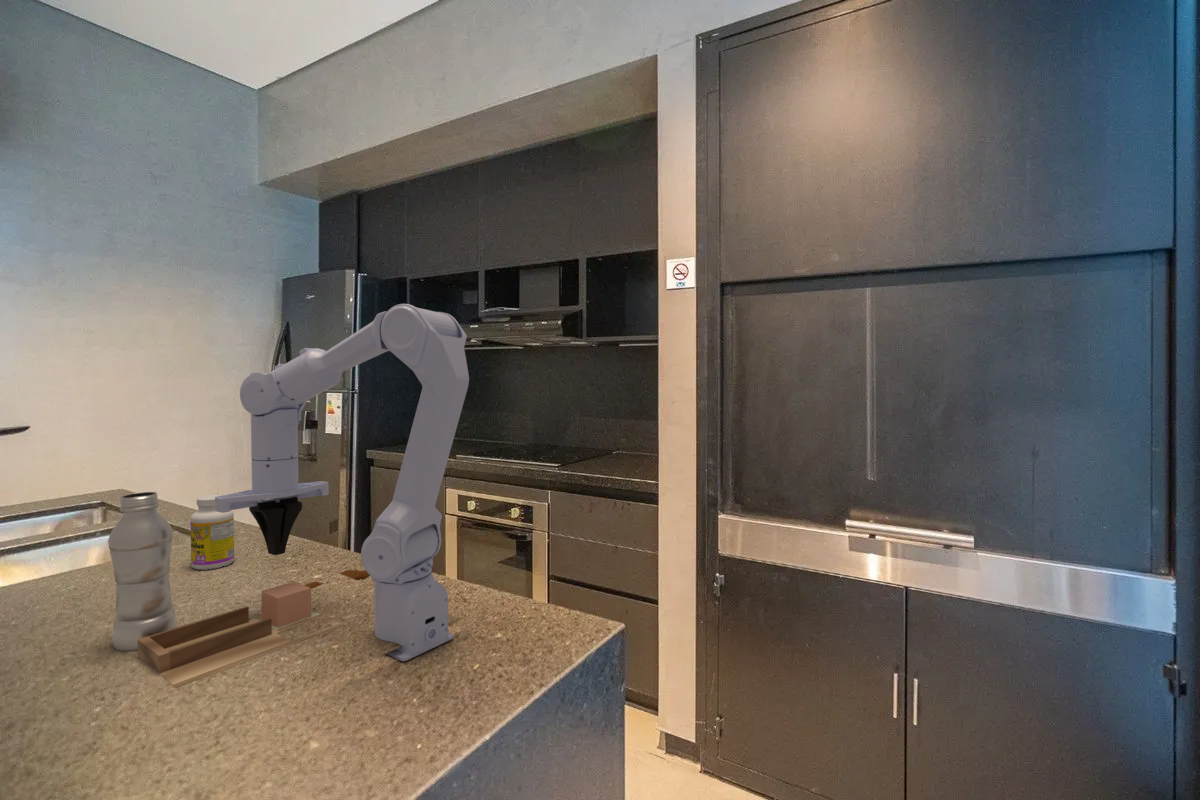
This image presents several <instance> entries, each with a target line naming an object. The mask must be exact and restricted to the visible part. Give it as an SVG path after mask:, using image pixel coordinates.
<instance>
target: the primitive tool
mask: <svg viewBox="0 0 1200 800" xmlns="http://www.w3.org/2000/svg"><path fill="white" fill-rule="evenodd" d="M338 574H339V575H341V576H344V577H347V578H350V579H352V580H356V581H359V580H360V579H361V580H363V579H364V578H365V579H366V578H369V576H370V575H369V574H368V573H367V571H366V570H365V569H364V570H358V569H348V570H344V571H342V572H339V573H338ZM370 577H371V576H370ZM303 585H304V586H307V587H309V588H311V590H312V589H315V588H317V587H319V586H322V585H324V582H323V581H322V582H320V581H313V582H309V583H306V584H303Z"/></svg>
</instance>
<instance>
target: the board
mask: <svg viewBox="0 0 1200 800" xmlns="http://www.w3.org/2000/svg"><path fill="white" fill-rule="evenodd" d="M314 620H320V621H321V622H324V623H325V624H328V625H330V626H328V627H325V628H322V629H320V630H318V631H315V632H312V633H310V634H306V635H304V636H301V637H298V638H296V639H293V640H290V639H288V638H286V637H284V636H283V635H281V634H278V633H281V632H282V631H286V630H289V629H291V628H294V627H298V626H300V625H304V624H306V623H308V622H312V621H314ZM343 626H344V624H343V623H341V622H339V621H336V620H334V619H332V618H331V617H330V618H329V617H327V616H325V615H323V614H321V613H318V612H316V611H314V610H312V609H311V617H308V618H305V619H302V620H299V621H296V622H294V623H291V624H288V625H285V626H282V627H279V628H277V627H275V626H273V625H272V619H270V618H269V619H266V620H262V615H261V616H259V617H256V618H251V619H250V607H249V606H244V607H240V608H238V609H234V610H230V611H228V612H224V613H221V614H218V615H214V616H210V617H208V618H204V619H200V620H197V621H194V622H191V623H187V624H184V625H181V626H177V628H174V629H170V630H167V631H164V632H160V633H157V634H154V635H150V636H147V637H144V638H140V639H138V650H137V657H138V658H140V659H141V660H142V661H143V662H144V663H145V664H147V665H148V666H149V667H150V668H151V669H153V670H154V671H155V672H156V673H158V674H159V675H160V676H161V677H162V678H164V679H165V680H166V681H167V682H169V684H170V685H172V686H173V687H175V688H176V689H178V688H180V687H183V686H186V685H189V684H190V683H193V682H195V681H199V680H202V679H204V678H207V677H210V676H213V675H215V674H218V673H220V672H223V671H227V670H228V669H230V668H234V667H236V666H239V665H242V664H244V663H247V662H251V661H252V660H255V659H258V658H260V657H263V656H266V655H268V654H271V653H273V652H276V651H279V650H282V649H284V648H288V647H289V646H293V645H295V644H298V643H300V642H303V641H306V640H308V639H311V638H314V637H317V636H319V635H322V634H324V633H327V632H330V631H333V630H335V629H338V628H340V627H343Z"/></svg>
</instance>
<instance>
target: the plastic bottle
mask: <svg viewBox="0 0 1200 800" xmlns="http://www.w3.org/2000/svg"><path fill="white" fill-rule="evenodd" d="M119 499H120V507H119V511H120V513H123V514H122V517H121V518H120V519H119V520H118V522H117V523H116V524H115V526H114V527H113V528H112V530H111V531H110V533H109V537H108V540H107V544H108V549H109V554H110V558H111V563H112V566H113V570H114V571H113V572H114V580H115V581H114V582H115V588H116V599H115V600H116V601H115V616H114V617H115V619H114V621H113V626H112V633H111V640H112V643H113V648H114V649H115V650H116V651H120V652H133V651H138V639H140V638H144V637H147V636H150V635H154V634H157V633H160V632H164V631H167V630H170V629H174V628H177V627H178V618H177V614H176V611H175V607H174V606H173V604H174V603H173V599H172V592H171V585H170V572H171V571H170V570H171V569H170V566H171V565H170V564H171V563H170V562H171V554H172V553H171V552H172V547H173V546H172V544H173V538H174V537H173V536H174V535H173V534H174V531H173V529H172V526H171V524H170V523H169V522H168V521H167V520H166V518H165V517H164V516H163V515H161V514H160V513H159V512H158V511H157V509H158V508H159V507H160V502H159V501H158V492H157V491H142V492H133V493H128V494H125V495H121V496H120V498H119Z"/></svg>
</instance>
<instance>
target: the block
mask: <svg viewBox="0 0 1200 800" xmlns="http://www.w3.org/2000/svg"><path fill="white" fill-rule="evenodd" d="M304 585H305V584H302V583H299V582H298V581H297V582H296V581H292V582H288V583H285V584H281V585H278V586H274V587H271V588H268V589H264V590H260V591H261V616H262V620H266V619H269V618H270V619H272V625H273V626H275V627H277V628H279V627H282V626H285V625H288V624H291V623H294V622H296V621H299V620H302V619H305V618H308V617H311V610H312V589H311V588H309V587H307V586H304Z"/></svg>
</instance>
